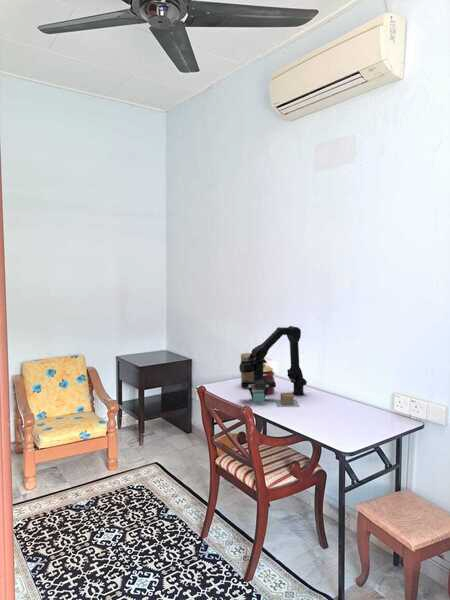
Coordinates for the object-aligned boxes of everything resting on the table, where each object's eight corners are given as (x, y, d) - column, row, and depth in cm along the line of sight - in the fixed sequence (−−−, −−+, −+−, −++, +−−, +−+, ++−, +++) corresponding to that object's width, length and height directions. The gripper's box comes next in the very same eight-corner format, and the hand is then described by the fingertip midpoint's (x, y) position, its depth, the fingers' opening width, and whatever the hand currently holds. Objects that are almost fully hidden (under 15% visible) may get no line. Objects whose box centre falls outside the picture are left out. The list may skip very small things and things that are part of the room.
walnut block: (280, 401, 239) (280, 392, 239) (291, 401, 239) (291, 392, 239) (282, 405, 233) (282, 395, 233) (293, 404, 233) (293, 395, 233)
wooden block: (241, 384, 275) (240, 353, 273) (256, 383, 276) (256, 352, 274) (243, 389, 265) (243, 356, 263) (259, 388, 266) (259, 356, 264)
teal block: (252, 399, 245) (252, 390, 245) (263, 399, 245) (263, 390, 245) (253, 402, 239) (253, 393, 239) (264, 402, 239) (264, 393, 239)
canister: (273, 389, 264) (273, 360, 262) (275, 396, 251) (275, 365, 249) (251, 389, 264) (251, 360, 263) (252, 396, 251) (252, 365, 250)
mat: (274, 400, 242) (274, 399, 242) (296, 400, 242) (296, 399, 242) (277, 407, 230) (277, 407, 230) (299, 407, 230) (299, 406, 230)
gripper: (241, 375, 233) (242, 403, 234) (276, 374, 233) (276, 403, 234) (241, 370, 244) (241, 397, 245) (274, 369, 244) (274, 397, 245)
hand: (258, 398), depth 242 cm, fingers closed on teal block, 6 cm apart
